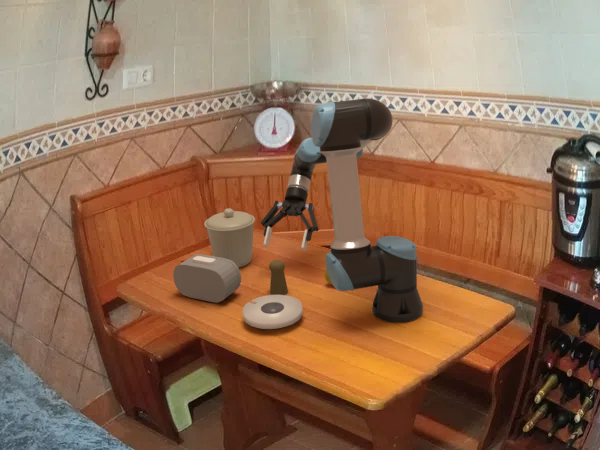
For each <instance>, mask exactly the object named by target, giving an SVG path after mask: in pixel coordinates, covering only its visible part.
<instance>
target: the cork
mask: <svg viewBox="0 0 600 450" xmlns="http://www.w3.org/2000/svg"><path fill="white" fill-rule="evenodd" d="M285 268H286V264H285V261H283V260H281V259H274V260H272V261H270V262H269V264H268V269H269V271H270V283H269V286H270V287H269V295H287V294H288V293H289V289H288V284H287V281H286V276H285Z"/></svg>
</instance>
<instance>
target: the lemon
mask: <svg viewBox="0 0 600 450" xmlns="http://www.w3.org/2000/svg"><path fill="white" fill-rule="evenodd" d="M324 277H325V280H326V282H327V283H329V284H331V285H332V286H333V284H332V282H331V280H330V277H329V275H328V272H327V268H326V267H325V270H324Z"/></svg>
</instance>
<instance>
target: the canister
mask: <svg viewBox="0 0 600 450" xmlns="http://www.w3.org/2000/svg"><path fill="white" fill-rule="evenodd" d="M255 222H256V218H255V217H254V215H252V214H249V213H248V212H245V211H237V210H233V208H230V207H229V208H225V209H224V211H223V212H219V213H216V214H213V215H211V216H210V217H209V218H207V219H206V220H205V221H204V223H203V224H204V227H205V228H206V231H207V235H208V239H209V244H210V248H211V252H212V256H215V257H221V258H225V259H229V260H232V261H233V262H234V263H235V264H236V265H237V266H238V268H239V269H240V268H243V267H244V266H247V265H248V264H249V263H250V262H251V260H252V258H253V252H254V251H253V249H254V223H255Z"/></svg>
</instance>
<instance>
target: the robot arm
mask: <svg viewBox="0 0 600 450" xmlns="http://www.w3.org/2000/svg"><path fill="white" fill-rule="evenodd" d="M393 122H394V121H393V115H392V112H391V110H390V108H388V106H387V105H386V104H385V103H384V102H382V101H380V100H378V99H374V98H368V97H366V98H361V99H349V100H342V101H341V100H340V101H330V102H325V103H321V104H318V105H317V106H315V108H314V110H313V113H312V115H311V122H310V128H311V129H310V132H311V133H310V134H311V137H307V138H305V139H303V140H302V142H301V143H300V144H299V146H298V148H297V150H296V152H295V154H294V157H293V162H292V167H291V171H290V175H289V178H288V182H287V189H286V191H285V195H284V200H283V202H281V201H280V202H279V201H278V200H275V201H274V202H273V203H274V204H273V206H272V207H271V209H270V210H269V211H268V212H267V214H266V215H265V216H264V217H263V219H261V221H260V225H262V227H264V229H263V236H264V240H263V246H264V247H266V248H269V246H270V241H271V236H272V234H273V233H272V232H273V227H274V226H275V225H276V224H277V223H279V222H280V221H281V220H282V219H283V218H285V217H296V218H297V217H300V218H301V220H302V221H303V222H302V223H304V225H305V226H306V229H305V230H304V232H303V233H304V234H303V238H302V242H301V249H302V251H305V252H306V251H307V246H308V242H311V240H312V235H313V233H314V232H318V231H319V225H318V223H317V222H318V221H317V219H316V215H315V212H314V211H315V206H314V205H313V203H312V202H309V203H307V201H308V195H309V192H310V187H311V182H312V178H313V177H312V176H313V173H314V171H315V170H314V169H315V167H316V165H321V164H326V168H327V176H328V177H327V178H328V188H329V189H328V190H329V195H330V197H329V198H330V203H331V214H332V222H333V223H332V224H333V225H332V226H333V234H334V240H333V241H332V243H331V244H330V252H327V253H326V254H325V259H324V261H325V269H326V268H327V272H328V275H329V277H330V280H331V282H332V284H333V285H332V284H331V285H332V286H333V287H334V289H336V290H337V291H339V292H347V291H354V290H359V289H365V288H372V287H376V286H377V289H376V292H375V295H374V298H373V301H372V304H371V305H372V314H373V315H374V316H375V318H377V319H379V320H380V321H384V322H387V323H396V324H399V323H401V324H402V323H408V322H412V321H415V320H417V319H418V318H420V317H421V316H422V315H423V312H424V310H423V309H424V308H423V306H424V305H423V301H422V299H421V296H420V292H419V290H418V285H417V284H418V280H417V279H418V277H417V276H418V255H417V254H418V253H417V252H418V251H417V246H416V244H415V243H414V242H413V241H411V239H408V238H406V237H403V236H402V237H401V236H396V235H385V236H380V237H379V238H378V239H377V240H376V242H375V244H376V245H371V241H370V240H369V239H368V238H366V236H365V229H364V227H365V226H364V221H363V219H364V218H363V210H362V209H363V208H362V198H361V188H360V178H359V171H358V170H359V168H358V159H360V158H361V157H362V156H363V150H364V148H365V147H367V146H368V145H370V144H371V143H372V142H374V141H379V140H381V139H383V138H384V137H385V136H387V134H389V132H390V131H391V129H392V126H393ZM306 203H307V204H306ZM305 210H307V211H308V214H309V217H310V221H311V224H312V226H311V224H310V222H309V221H308V219H307V218H306V216H305V215H304V211H305Z"/></svg>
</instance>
